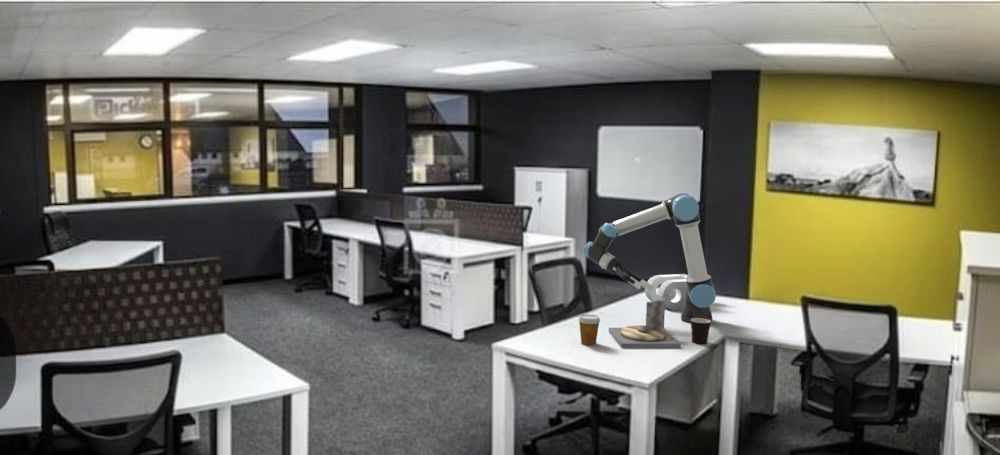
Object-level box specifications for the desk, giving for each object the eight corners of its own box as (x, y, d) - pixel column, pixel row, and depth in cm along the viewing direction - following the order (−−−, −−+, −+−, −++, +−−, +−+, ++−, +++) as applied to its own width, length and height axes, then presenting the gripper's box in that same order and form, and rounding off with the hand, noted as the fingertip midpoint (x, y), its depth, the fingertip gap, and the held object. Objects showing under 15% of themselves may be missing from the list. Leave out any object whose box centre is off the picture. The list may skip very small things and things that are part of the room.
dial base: (663, 331, 334) (663, 327, 334) (680, 347, 309) (681, 342, 308) (608, 331, 333) (608, 326, 332) (621, 348, 307) (621, 342, 307)
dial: (643, 343, 307) (644, 310, 305) (611, 332, 323) (612, 301, 321) (679, 336, 319) (680, 304, 317) (646, 326, 335) (647, 295, 333)
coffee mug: (706, 346, 312) (707, 324, 310) (686, 343, 316) (688, 321, 315) (713, 340, 321) (715, 318, 320) (694, 337, 326) (695, 315, 325)
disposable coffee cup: (603, 343, 313) (604, 316, 312) (590, 347, 306) (591, 320, 305) (586, 339, 320) (586, 313, 318) (573, 343, 313) (573, 316, 311)
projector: (662, 310, 377) (663, 282, 375) (644, 302, 395) (645, 275, 393) (719, 306, 388) (720, 279, 386) (699, 299, 406) (700, 273, 404)
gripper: (617, 272, 353) (652, 296, 341) (595, 268, 332) (631, 293, 321) (625, 259, 351) (660, 283, 340) (603, 254, 331) (640, 278, 319)
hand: (646, 287), depth 330 cm, fingers open, 13 cm apart
